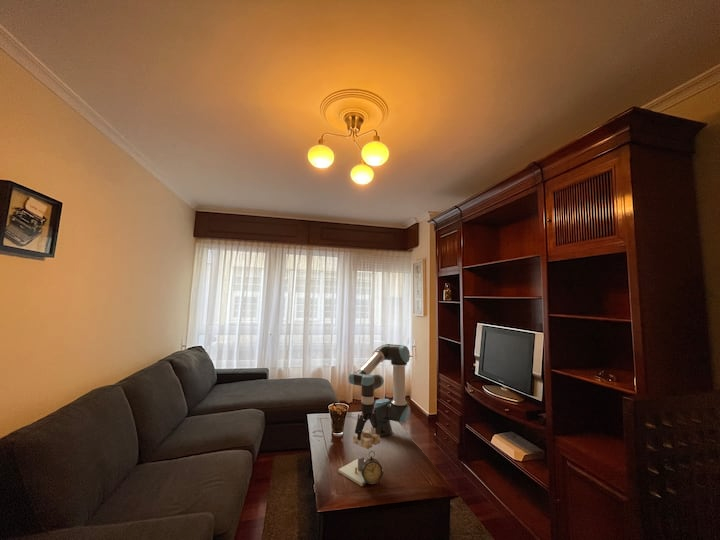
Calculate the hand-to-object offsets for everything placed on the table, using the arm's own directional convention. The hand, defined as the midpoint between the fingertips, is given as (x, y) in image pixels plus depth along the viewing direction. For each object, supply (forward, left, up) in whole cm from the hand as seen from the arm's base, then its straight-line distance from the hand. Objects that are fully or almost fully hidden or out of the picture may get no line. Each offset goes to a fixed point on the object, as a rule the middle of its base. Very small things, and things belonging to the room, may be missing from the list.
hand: (366, 442), depth 166 cm
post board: (+4, -1, -15) cm, 15 cm away
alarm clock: (+8, +10, -15) cm, 20 cm away
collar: (0, 0, 0) cm, 0 cm away
